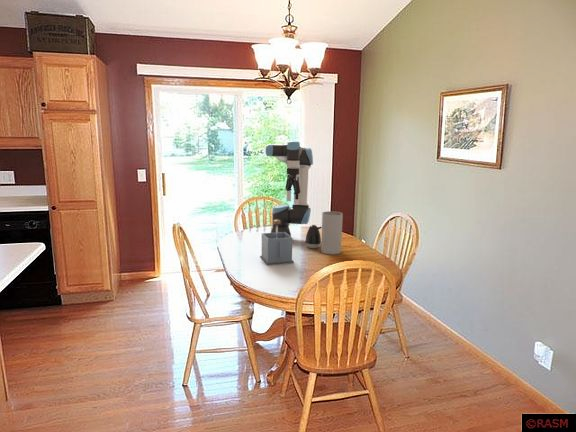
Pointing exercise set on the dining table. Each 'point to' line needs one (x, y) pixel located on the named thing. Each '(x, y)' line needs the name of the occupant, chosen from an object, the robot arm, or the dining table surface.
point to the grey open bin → (276, 248)
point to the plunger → (276, 222)
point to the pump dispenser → (313, 237)
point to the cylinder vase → (331, 232)
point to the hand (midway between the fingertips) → (292, 203)
